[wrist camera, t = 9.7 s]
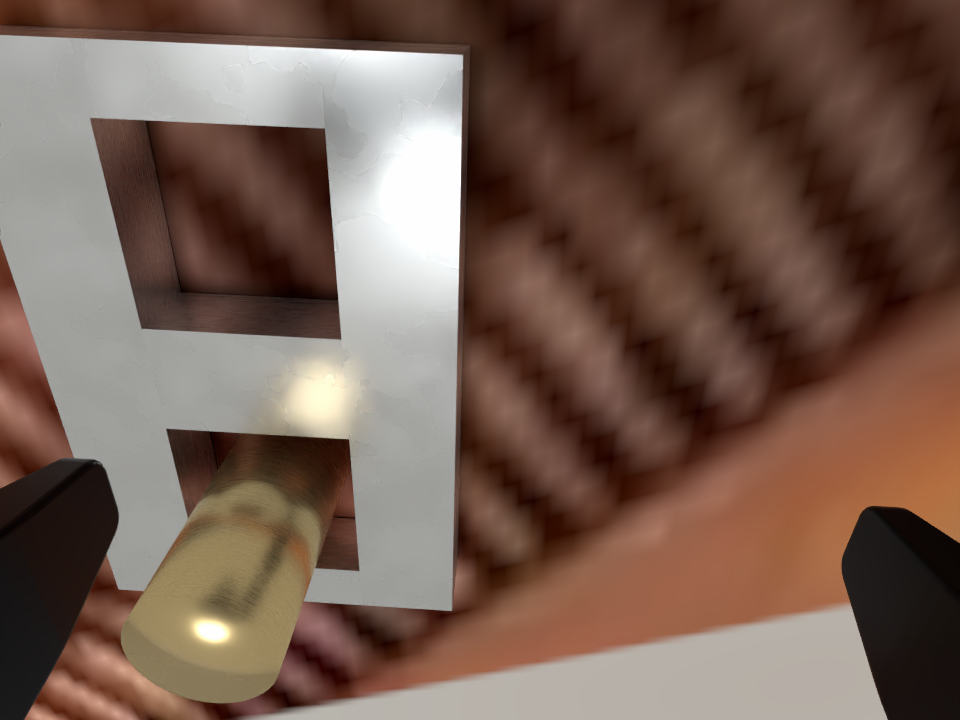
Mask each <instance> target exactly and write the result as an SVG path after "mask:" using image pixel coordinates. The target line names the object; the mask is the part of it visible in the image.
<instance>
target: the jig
mask: <svg viewBox="0 0 960 720" xmlns="http://www.w3.org/2000/svg"><path fill="white" fill-rule="evenodd" d="M469 74H470V45H458V44H435V43H411V42H388V41H364V40H341V39H317V38H294V37H270V36H247V35H223V34H200V33H176V32H153V31H129V30H105V29H82V28H58V27H35V26H12V25H1V26H0V240H1V243H2V246H3V249H4V252H5V255H6V258H7V261H8V264H9V267H10V270H11V272H12V275H13V278H14V281H15V284H16V287H17V290H18V293H19V296H20V299H21V302H22V305H23V308H24V311H25V314H26V317H27V320H28V323H29V326H30V329H31V332H32V335H33V337H34V340H35V343H36V346H37V349H38V352H39V355H40V358H41V361H42V364H43V367H44V370H45V373H46V376H47V379H48V382H49V385H50V388H51V391H52V394H53V397H54V400H55V402H56V405H57V408H58V411H59V414H60V417H61V420H62V423H63V426H64V429H65V432H66V435H67V438H68V441H69V444H70V447H71V450H72V453H73V456H74V458H82V459H95V460H97V461H100V462H101V463H102V464H103V465H104V467H105V469H106V471H107V475H108V478H109V481H110V484H111V487H112V491H113V494H114V497H115V500H116V504H117V507H118V511H119V523H118V528H117V531H116V534H115V536H114V538H113V540H112V543H111V545H110V547H109V549H108V552H107V556H108V559H109V562H110V565H111V568H112V571H113V574H114V577H115V580H116V583H117V586H118V589H123V590H138V591H144V590H145V589H146V587H147V585H148V584H149V582H150V580H151V579H152V577H153V575H154V574H155V572H156V571H157V569H158V567H159V566H160V564H161V562H162V561H163V559H164V557H165V556H166V554H167V553H168V551H169V549H170V548H171V546H172V544H173V543H174V541H175V539H176V538H177V536H178V535H179V533H180V531H181V530H182V528H183V526H184V525H185V523H186V521H187V520H188V518H189V517H190V515H191V513H192V512H193V510H194V508H195V507H196V505H197V503H198V502H199V500H200V499H201V497H202V495H203V494H204V492H205V490H206V489H207V487H208V485H209V484H210V482H211V481H212V479H213V477H214V476H215V474H216V472H217V471H218V470H217V465H216V460H215V455H214V450H213V446H212V441H211V436H210V431H216V432H233V433H250V434H267V435H284V436H301V437H318V438H335V439H349V442H350V455H351V468H352V480H353V493H354V506H355V519H352V518H336V517H333V518H332V521H331V523H330V526H329V529H328V532H327V535H326V538H325V541H324V544H323V547H322V550H321V553H320V555H319V558H318V561H317V564H316V567H315V570H314V573H313V576H312V579H311V582H310V584H309V587H308V590H307V593H306V596H305V599H304V601H308V602H323V603H339V604H354V605H369V606H385V607H400V608H416V609H431V610H446V611H452V606H453V596H454V587H455V577H456V568H457V558H458V520H459V479H460V439H461V398H462V358H463V317H464V277H465V236H466V196H467V155H468V115H469ZM146 120H149V121H171V122H193V123H214V124H236V125H258V126H279V127H301V128H323V129H325V135H326V148H327V161H328V174H329V186H330V199H331V212H332V225H333V237H334V250H335V263H336V276H337V289H338V300H320V299H301V298H282V297H264V296H245V295H226V294H207V293H188V292H181V290H180V285H179V281H178V276H177V271H176V266H175V261H174V256H173V251H172V247H171V242H170V237H169V232H168V227H167V222H166V217H165V213H164V208H163V203H162V198H161V193H160V188H159V183H158V179H157V174H156V169H155V164H154V159H153V154H152V149H151V145H150V140H149V135H148V130H147V125H146Z"/></svg>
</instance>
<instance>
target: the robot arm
mask: <svg viewBox="0 0 960 720" xmlns="http://www.w3.org/2000/svg"><path fill="white" fill-rule="evenodd" d="M118 523H119V511H118V507H117V504H116V500H115V497H114V494H113V491H112V487H111V484H110V481H109V478H108V475H107V471H106V469H105V467H104V465H103V464H102V463H101V462H100V461H97V460H95V459H82V458H63V459H60V460H58V461H56V462H53V463H51V464H49V465H47V466H45V467H43V468H41V469H39V470H37V471H35V472H33V473H31V474H29V475H27V476H25V477H23V478H21V479H19V480H17V481H15V482H13V483H11V484H9V485H7V486H5V487H3V488H1V489H0V720H24V719H25V717H26V716H27V714H28V712H29V710H30V709H31V707H32V705H33V703H34V701H35V700H36V698H37V696H38V694H39V693H40V691H41V689H42V687H43V686H44V684H45V682H46V680H47V679H48V677H49V675H50V673H51V672H52V670H53V668H54V666H55V664H56V662H57V660H58V659H59V657H60V655H61V653H62V651H63V649H64V647H65V645H66V643H67V641H68V639H69V637H70V635H71V633H72V631H73V629H74V626H75V624H76V622H77V620H78V617H79V615H80V613H81V611H82V608H83V606H84V604H85V602H86V599H87V597H88V595H89V592H90V590H91V588H92V586H93V583H94V581H95V579H96V577H97V574H98V572H99V570H100V568H101V565H102V563H103V561H104V559H105V556H106V554H107V552H108V549H109V547H110V545H111V543H112V540H113V538H114V536H115V534H116V531H117V528H118ZM842 575H843V579H844V583H845V586H846V589H847V593H848V596H849V599H850V603H851V606H852V609H853V613H854V616H855V619H856V623H857V626H858V629H859V632H860V636H861V639H862V642H863V646H864V649H865V652H866V656H867V659H868V662H869V666H870V669H871V672H872V676H873V679H874V682H875V685H876V688H877V691H878V694H879V697H880V700H881V703H882V705H883V708H884V711H885V713H886V716H887V719H888V720H960V543H958V542H957V541H955V540H954V539H952V538H951V537H949V536H948V535H946V534H945V533H943V532H942V531H940V530H938V529H937V528H935V527H934V526H932V525H931V524H929V523H928V522H926V521H925V520H923V519H922V518H920V517H919V516H917V515H915V514H914V513H912V512H911V511H909V510H907V509H904V508H899V507H883V506H871V507H867V508H866V509H865V510H863V511H862V513H861V514H860V516H859V519H858V521H857V523H856V526H855V528H854V530H853V533H852V535H851V537H850V540H849V542H848V544H847V547H846V549H845V552H844V554H843V558H842Z"/></svg>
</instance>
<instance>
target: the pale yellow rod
mask: <svg viewBox="0 0 960 720" xmlns="http://www.w3.org/2000/svg"><path fill="white" fill-rule="evenodd" d="M348 471H349V455H348V452H347V449H346V447H345V445H344V443H343V441H342V440H341V439H335V438H318V437H301V436H284V435H267V434H250V433H240V435H239V436H238V438H237V440H236V441H235V443H234V445H233V446H232V448H231V449H230V451H229V453H228V454H227V456H226V458H225V459H224V461H223V463H222V464H221V466H220V467H219V469H218V471H217V472H216V474H215V476H214V477H213V479H212V481H211V482H210V484H209V485H208V487H207V489H206V490H205V492H204V494H203V495H202V497H201V499H200V500H199V502H198V503H197V505H196V507H195V508H194V510H193V512H192V513H191V515H190V517H189V518H188V520H187V521H186V523H185V525H184V526H183V528H182V530H181V531H180V533H179V535H178V536H177V538H176V539H175V541H174V543H173V544H172V546H171V548H170V549H169V551H168V553H167V554H166V556H165V557H164V559H163V561H162V562H161V564H160V566H159V567H158V569H157V571H156V572H155V574H154V575H153V577H152V579H151V580H150V582H149V584H148V585H147V587H146V589H145V590H144V592H143V594H142V595H141V597H140V598H139V600H138V602H137V603H136V605H135V607H134V608H133V610H132V612H131V613H130V615H129V616H128V618H127V620H126V621H125V623H124V625H123V628H122V632H121V643H122V647H123V650H124V653H125V655H126V657H127V658H128V660H129V661H130V663H131V664H132V665H133V666H134V667H135V669H136V670H137V671H139V672H140V673H141V674H142V675H143V676H144V677H146V678H147V679H148V680H149V681H151V682H153V683H154V684H156V685H157V686H159V687H161V688H163V689H165V690H167V691H169V692H172V693H174V694H176V695H179V696H182V697H185V698H189V699H193V700H198V701H203V702H211V703H233V702H240V701H244V700H248V699H251V698H254V697H257V696H259V695H260V694H262V693H264V692H265V691H267V690H268V689H269V688H270V687H271V686H272V685H273V684H274V682H275V681H276V679H277V677H278V674H279V672H280V669H281V666H282V663H283V660H284V657H285V654H286V651H287V648H288V645H289V643H290V640H291V637H292V634H293V631H294V628H295V625H296V622H297V619H298V616H299V614H300V611H301V608H302V605H303V602H304V599H305V596H306V593H307V590H308V587H309V584H310V582H311V579H312V576H313V573H314V570H315V567H316V564H317V561H318V558H319V555H320V553H321V550H322V547H323V544H324V541H325V538H326V535H327V532H328V529H329V526H330V523H331V521H332V518H333V515H334V512H335V509H336V506H337V503H338V500H339V497H340V494H341V492H342V489H343V486H344V483H345V480H346V477H347V474H348Z"/></svg>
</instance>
